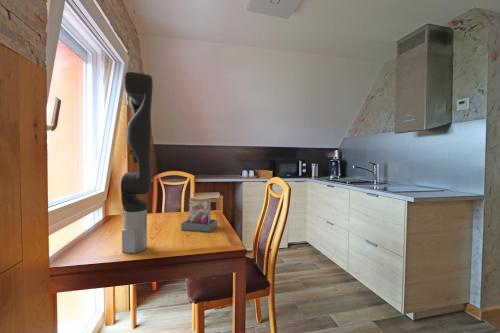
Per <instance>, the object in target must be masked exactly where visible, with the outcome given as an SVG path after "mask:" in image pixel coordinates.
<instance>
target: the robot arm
mask: <svg viewBox="0 0 500 333" xmlns="http://www.w3.org/2000/svg"><path fill="white" fill-rule="evenodd" d="M123 87H124V88H123V89H124V92H126V94H127V95H128V96H130V97H129V104H130V105H129V106H130V108H131V111H132V115H133V116H132V117H131V118H130V120H129V121H128V124H127V128H126V141H127V144H128V147H129V154H130V155H131V156H132V161H133V163H134V164H137V165H138V166H137V167H138V168H137V169H138V172H132V171H131V172H129V171H128V172H125V173H124V174H123V175H122V177H121V180H120V196H121V205H122V209H123V211H122V212H123V213H122V214H123V216H122V217H123V218H122V222H123V227H122V229H121V253H126V254H137V253H140V252H144V251H145V250H146V249H147V248H148V209H147V208H148V204H147V202H146V201H144V200H142V199H140V198H139V197H138V196H137V195H148V193H149V192H150V190H151V187H152V172H151V170H152V169H151V139H152V138H151V136H152V134H151V133H152V132H151V131H152V128H151V127H152V125H151V124H152V120H151V119H152V117H151V116H152V115H151V114H152V113H151V112H152V99H153V88H154V86H153V77H152V76H151V74H146V73H141V72H133V71H132V72H131V71H129V72H126V73H125V74H124V76H123Z"/></svg>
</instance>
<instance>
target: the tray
mask: <svg viewBox="0 0 500 333" xmlns="http://www.w3.org/2000/svg"><path fill="white" fill-rule="evenodd" d="M216 228H218V219H212V218H210V225H206V224H192V223H189V218H188V219H186V220H184V221H182V222H181V223H180V229H181V231H185V232H198V233H209V234H211V233H212V231H214V230H215V229H216Z"/></svg>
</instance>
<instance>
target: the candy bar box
mask: <svg viewBox="0 0 500 333" xmlns="http://www.w3.org/2000/svg"><path fill="white" fill-rule="evenodd" d="M188 219H189V223H192V224H206V225H210V219H211V197H197V196H192V197H189V198H188Z"/></svg>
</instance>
